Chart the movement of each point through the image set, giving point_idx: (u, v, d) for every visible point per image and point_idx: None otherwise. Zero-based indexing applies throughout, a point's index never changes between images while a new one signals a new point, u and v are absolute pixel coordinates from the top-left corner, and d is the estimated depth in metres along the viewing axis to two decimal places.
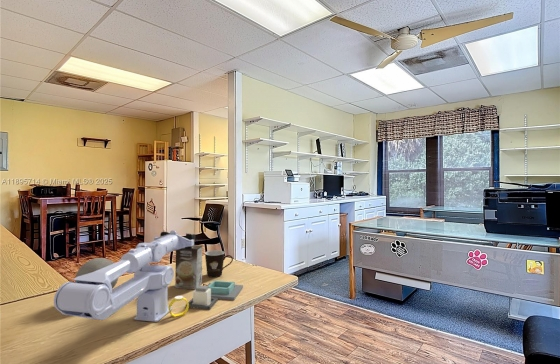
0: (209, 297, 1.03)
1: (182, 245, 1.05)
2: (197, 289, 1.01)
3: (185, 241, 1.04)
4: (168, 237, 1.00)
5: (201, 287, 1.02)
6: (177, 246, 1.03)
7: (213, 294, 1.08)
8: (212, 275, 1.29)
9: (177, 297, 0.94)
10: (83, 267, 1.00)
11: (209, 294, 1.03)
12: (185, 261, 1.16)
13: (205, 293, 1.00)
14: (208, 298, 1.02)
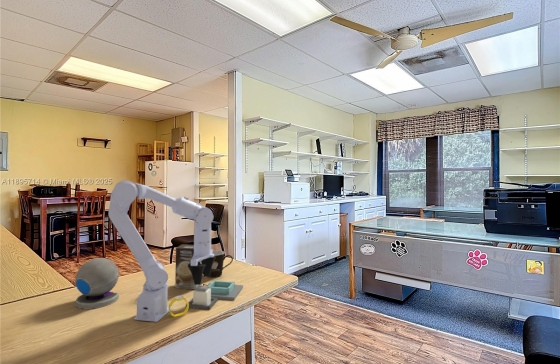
0: (209, 297, 1.03)
1: (195, 258, 0.99)
2: (197, 289, 1.01)
3: (198, 258, 0.97)
4: (209, 242, 1.01)
5: (201, 287, 1.02)
6: (196, 252, 1.00)
7: (213, 294, 1.08)
8: (212, 275, 1.29)
9: (177, 297, 0.94)
10: (83, 267, 1.00)
11: (209, 294, 1.03)
12: (185, 261, 1.16)
13: (205, 293, 1.00)
14: (208, 298, 1.02)
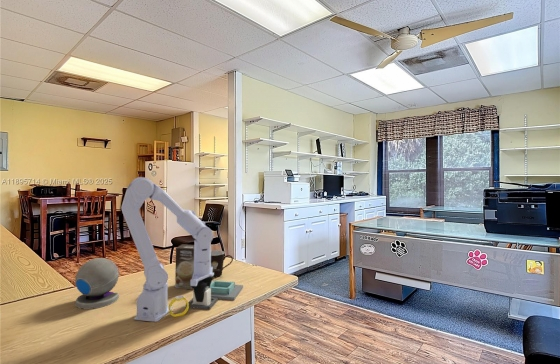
0: (209, 297, 1.03)
1: None
2: None
3: (198, 278, 0.98)
4: (208, 261, 1.01)
5: None
6: (196, 271, 1.00)
7: (213, 294, 1.08)
8: None
9: (177, 297, 0.94)
10: (83, 267, 1.00)
11: (209, 294, 1.03)
12: (185, 261, 1.16)
13: (205, 293, 1.00)
14: (208, 298, 1.02)
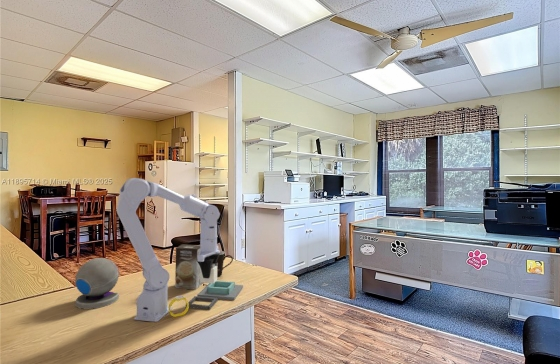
0: (216, 274, 1.05)
1: (201, 254, 1.02)
2: None
3: (204, 254, 1.00)
4: (214, 239, 1.04)
5: None
6: (202, 248, 1.03)
7: (213, 294, 1.08)
8: None
9: (177, 297, 0.94)
10: (83, 267, 1.00)
11: (216, 271, 1.05)
12: (185, 261, 1.16)
13: (212, 270, 1.03)
14: (215, 275, 1.05)
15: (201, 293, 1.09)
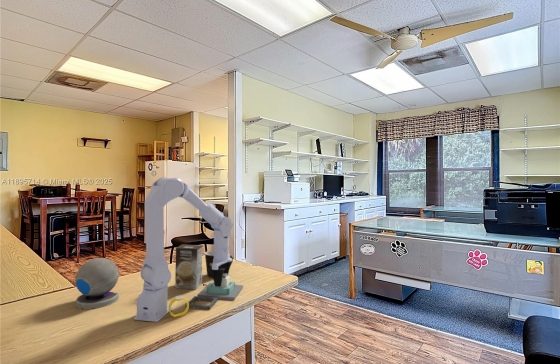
0: (228, 283, 1.13)
1: None
2: None
3: None
4: (227, 248, 1.11)
5: None
6: (216, 257, 1.10)
7: (213, 294, 1.08)
8: None
9: (177, 297, 0.94)
10: (83, 267, 1.00)
11: (228, 280, 1.13)
12: (185, 261, 1.16)
13: (225, 279, 1.11)
14: (227, 284, 1.12)
15: (201, 293, 1.09)
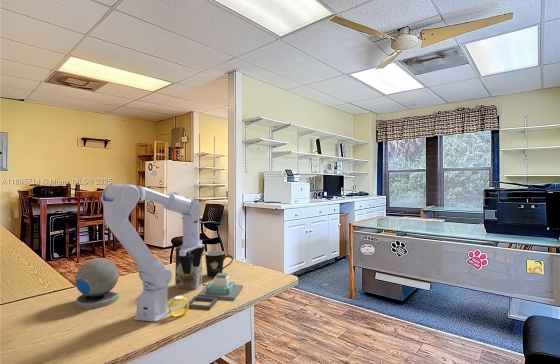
0: (228, 283, 1.13)
1: None
2: (217, 276, 1.12)
3: None
4: (197, 234, 1.05)
5: (221, 274, 1.13)
6: (185, 243, 1.04)
7: (213, 294, 1.08)
8: (212, 275, 1.29)
9: (177, 297, 0.94)
10: (83, 267, 1.00)
11: (228, 280, 1.13)
12: None
13: (225, 279, 1.11)
14: (227, 284, 1.12)
15: (201, 293, 1.09)
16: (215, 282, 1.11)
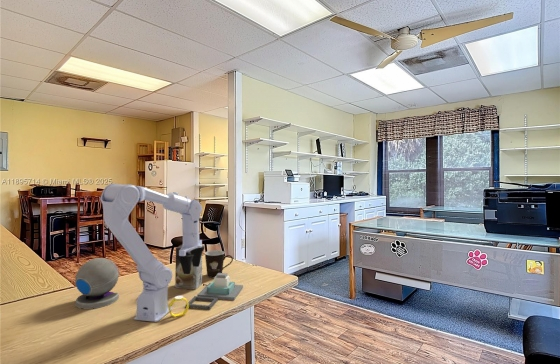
0: (228, 283, 1.13)
1: None
2: (217, 276, 1.12)
3: None
4: (196, 233, 1.05)
5: (221, 274, 1.13)
6: (184, 243, 1.04)
7: (213, 294, 1.08)
8: (212, 275, 1.29)
9: (177, 297, 0.94)
10: (83, 267, 1.00)
11: (228, 280, 1.13)
12: None
13: (225, 279, 1.11)
14: (227, 284, 1.12)
15: (201, 293, 1.09)
16: (215, 282, 1.11)
